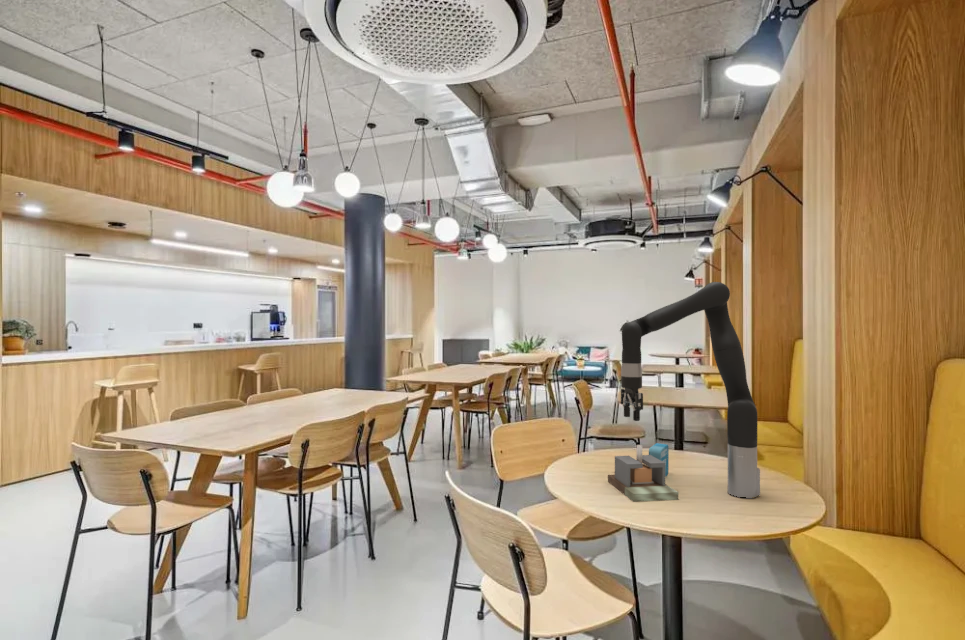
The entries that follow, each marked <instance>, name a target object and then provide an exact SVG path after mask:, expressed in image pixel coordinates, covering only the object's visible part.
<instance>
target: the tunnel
mask: <svg viewBox="0 0 965 640" xmlns="http://www.w3.org/2000/svg"><path fill="white" fill-rule="evenodd" d="M643 464H645V465H646V466H648V467H650V468H651V469H652V479H653V480H654V481H656V482H657V483H659V484H660V485H662V486H665V484H666V477H665V462H663V461H661V460H659V459H657V458H655V457H653V456H652V455H649V454H644V455H643V454H642V463H640V462H639V461H637V459H636V458H634V457H633V456H630V455H615V456H614V474H615V478H616V479H617V480H618V481H620V482H621V483H622V484H624V485H625V486H626V487H630V468H643Z"/></svg>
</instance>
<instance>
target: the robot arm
mask: <svg viewBox="0 0 965 640" xmlns="http://www.w3.org/2000/svg"><path fill="white" fill-rule="evenodd" d="M730 296H731V291H730V289H729V287H728V285H726V284H725V283H724V282H723V283H722V282H719V281H712V282H709V283H707V284H705V286H703V288H701V289H699V290H698V291H696V292H695V293H692V294H691V295H689V296H687V297H685V298H683V299H680V300H679V301H676V302H673V303H670V304H668V305H665V306H663V307H660V308H658V309H656V310H654V311H652V312H649V313H647V314H645V315H644V316H642V317H639V318H636V319H634V320H632V321H628V322H626V323H624V325H623V326H622V328H621V345H622V351H621V368H620V386H621V389H620V405H622V407H623V417H625V418H630V417H631V407H632V410H633V411H632V413H633V414H632V420H633V421H634V422H639V421H640V419H641V412H640V411H641V410H642V411H643V410H644V393H643V392H639V389H642V388H643V369H642V368H643V366H642V349H641V347H642V337H644V336H646V335H649V334H650V333H653V332H657V331H659V330H662V329H664V328H666V327H668V326H671V325H673V324H676V323H677V322H679V321H681V320H683V319H685V318H687V317H690V316H692V315H695V314H696V313H698V312H699V313H700V312H701V311H704V314H705V316H706V318H707V323H708V328H709V336H710V341H711V347H712V352H713V355H714V360H715V361H714V362H715V364H716V367H717V369H718V372H719V375H720V377H721V380H722V383H723V385H724V387H725V393H726V399H727V412H726V413H727V415H726V417H727V418H726V420H727V421H726V426H727V427H726V429H727V430H726V434H727V437H726V438H727V493H728V494H729V495H730V494H731V496H733V495H734V496H733V497H736V496H737V498H740V497H746V498H745V499H753V498H752V497H756V496H758V495H760V496H761V474H760V473H761V469H760V468H759V467H758V410H757V405H756V404H755V402H754V399H753V397H752V394H751V392H750V388H749V386H748V380H747V371H746V370H747V369H746V363H745V358H744V357H745V356H744V353H743V349H742V344H741V342H740V339H739V337H738V333H737V332H736V329H735V327H734V325H733V324H732V321H731V318H730V313H729V309H728V308H729V307H728V301H729V299H730ZM758 497H759V496H758ZM756 498H757V497H756Z"/></svg>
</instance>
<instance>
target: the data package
mask: <svg viewBox="0 0 965 640" xmlns="http://www.w3.org/2000/svg"><path fill="white" fill-rule="evenodd" d="M669 451H670V450H669V444H666V443H654V444H653V445H652V446H650V447H649V449H648V455H652V456H653V457H655V458H657V459H659V460H661V461H663V462H665V478H666V477H667V476H668V474H669Z"/></svg>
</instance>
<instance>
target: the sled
mask: <svg viewBox="0 0 965 640" xmlns="http://www.w3.org/2000/svg"><path fill="white" fill-rule="evenodd" d="M642 455H643V444H636V460H637V461H639V462H640V463H642ZM642 464H643V463H642ZM630 483H632V484H649V483H654V482H653V481H652V469H651V468H650V467H648V466H647V465H645V464H643V468H630Z"/></svg>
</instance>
